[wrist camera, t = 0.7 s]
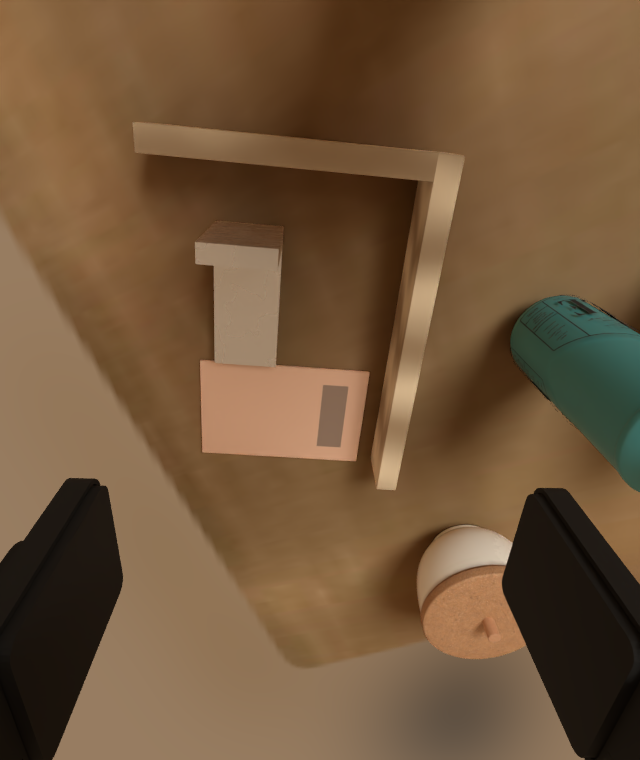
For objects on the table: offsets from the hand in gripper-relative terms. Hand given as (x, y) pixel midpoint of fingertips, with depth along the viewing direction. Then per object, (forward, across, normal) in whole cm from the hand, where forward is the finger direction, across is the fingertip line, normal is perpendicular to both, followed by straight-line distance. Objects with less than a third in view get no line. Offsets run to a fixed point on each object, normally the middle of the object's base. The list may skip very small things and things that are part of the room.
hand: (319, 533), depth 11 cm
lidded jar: (+26, -16, +26) cm, 41 cm away
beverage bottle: (+26, -18, +4) cm, 32 cm away
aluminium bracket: (+26, +4, +2) cm, 26 cm away
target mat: (+26, +1, +12) cm, 28 cm away
